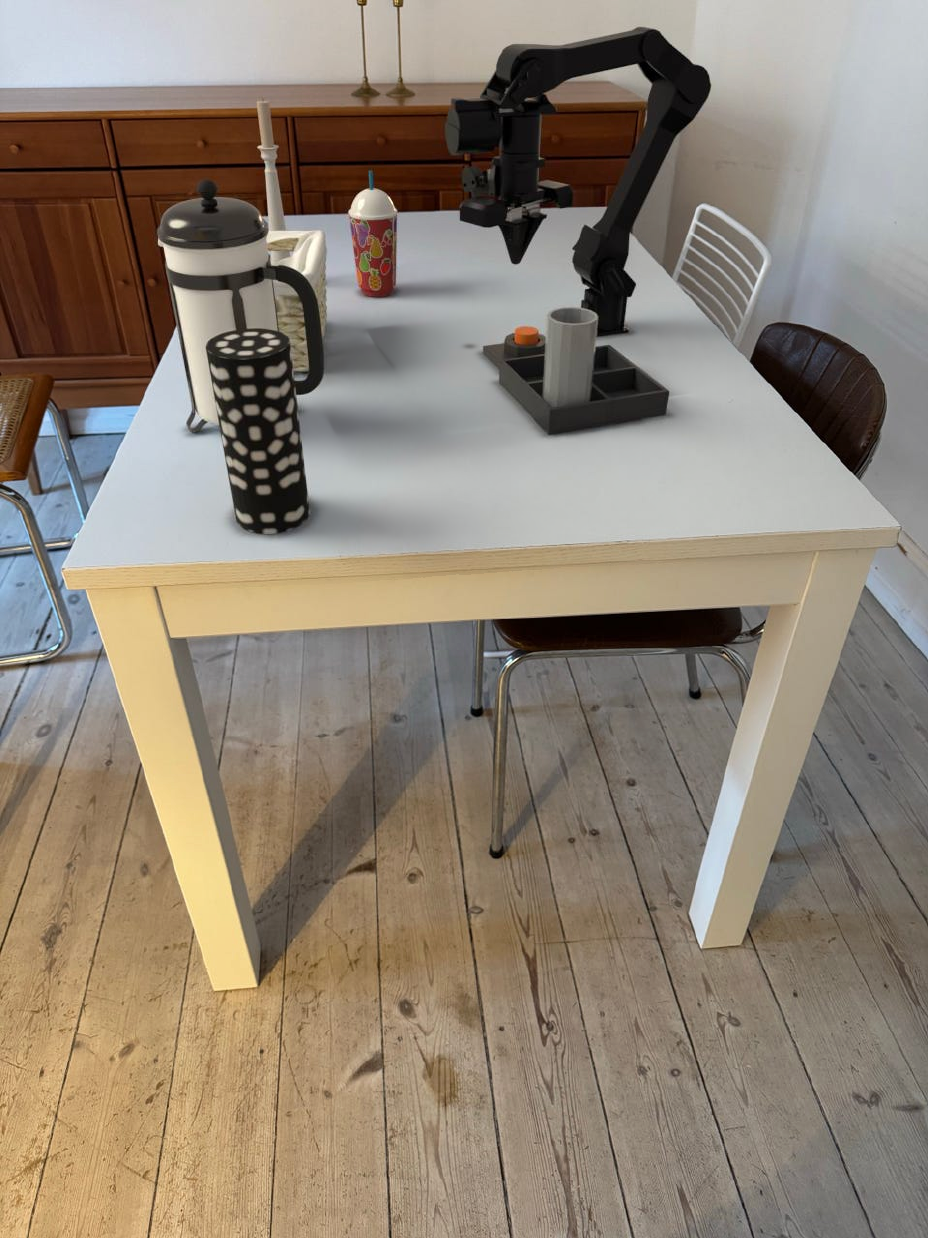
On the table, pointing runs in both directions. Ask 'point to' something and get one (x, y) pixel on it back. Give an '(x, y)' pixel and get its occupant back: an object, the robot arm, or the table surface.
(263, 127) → the candlestick
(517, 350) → the block
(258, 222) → the coffee press
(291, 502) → the spotted tube
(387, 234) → the smoothie
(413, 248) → the table surface
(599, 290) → the robot arm
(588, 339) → the tumbler
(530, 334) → the button
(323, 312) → the basket
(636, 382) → the divided tray
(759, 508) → the table surface
